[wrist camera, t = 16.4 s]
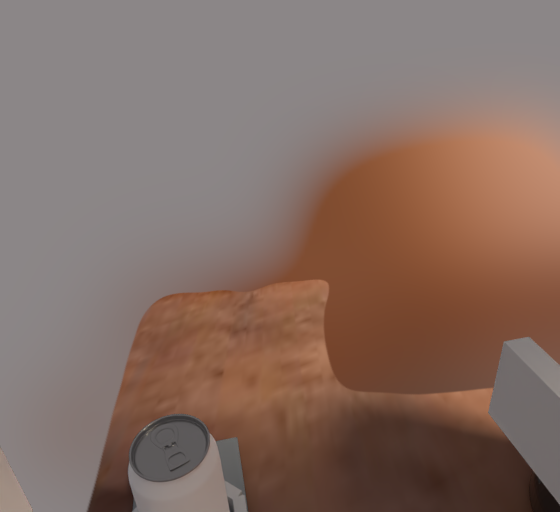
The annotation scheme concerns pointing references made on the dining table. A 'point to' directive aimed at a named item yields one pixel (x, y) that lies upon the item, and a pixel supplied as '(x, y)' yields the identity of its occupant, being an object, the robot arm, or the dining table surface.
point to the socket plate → (229, 475)
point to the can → (176, 467)
